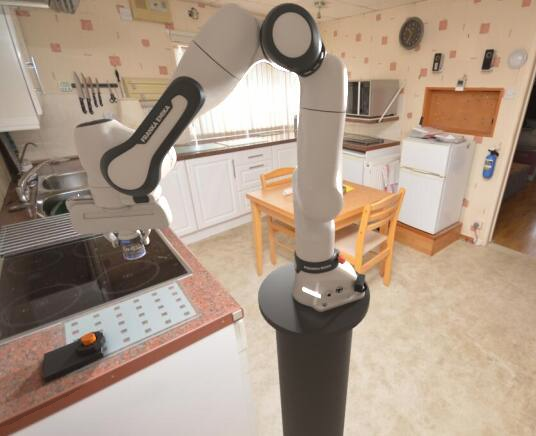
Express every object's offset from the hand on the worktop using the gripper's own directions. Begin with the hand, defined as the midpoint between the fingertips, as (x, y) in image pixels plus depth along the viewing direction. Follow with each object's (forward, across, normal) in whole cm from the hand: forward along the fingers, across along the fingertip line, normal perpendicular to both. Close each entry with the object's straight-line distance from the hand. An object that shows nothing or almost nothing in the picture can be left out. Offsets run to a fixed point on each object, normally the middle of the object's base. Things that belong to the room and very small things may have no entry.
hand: (132, 244), depth 73 cm
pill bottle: (+3, 0, 0) cm, 3 cm away
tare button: (+17, -9, -13) cm, 23 cm away
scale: (+20, -12, -15) cm, 27 cm away
